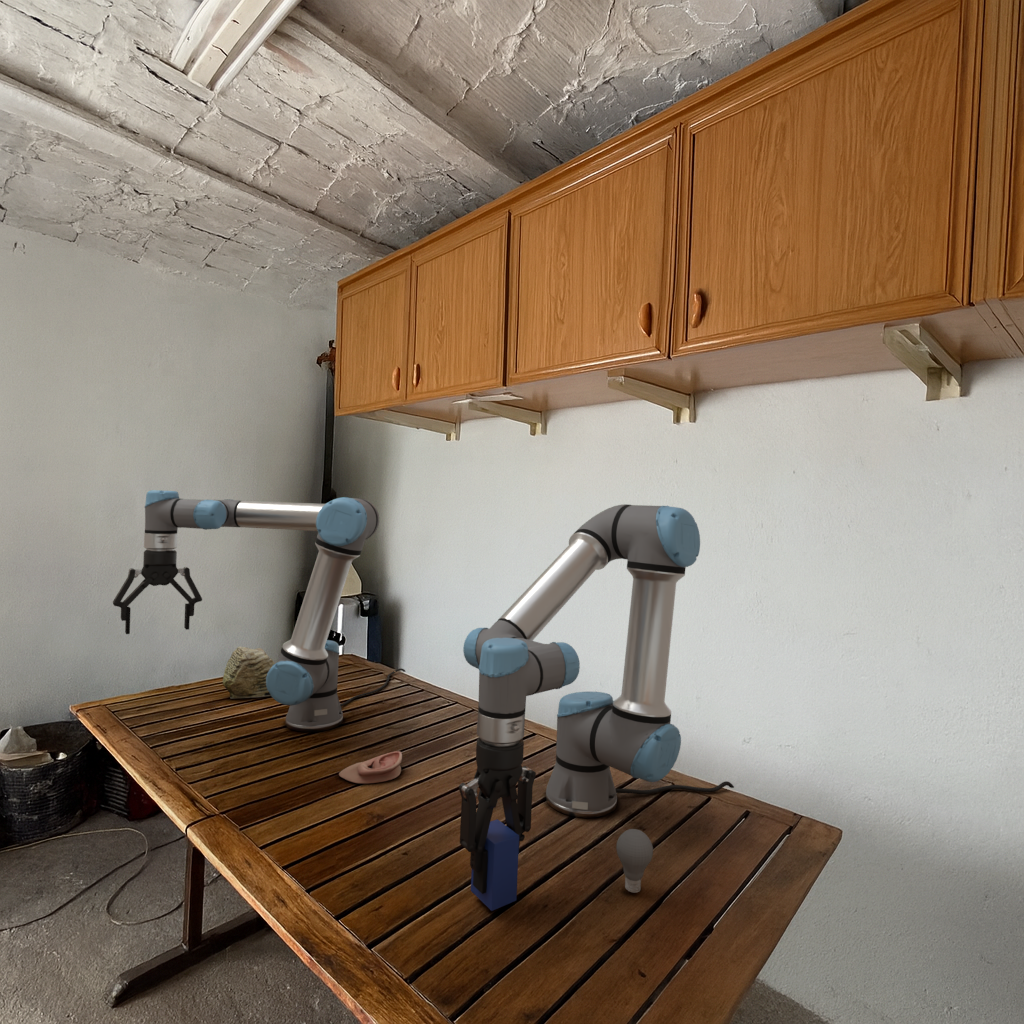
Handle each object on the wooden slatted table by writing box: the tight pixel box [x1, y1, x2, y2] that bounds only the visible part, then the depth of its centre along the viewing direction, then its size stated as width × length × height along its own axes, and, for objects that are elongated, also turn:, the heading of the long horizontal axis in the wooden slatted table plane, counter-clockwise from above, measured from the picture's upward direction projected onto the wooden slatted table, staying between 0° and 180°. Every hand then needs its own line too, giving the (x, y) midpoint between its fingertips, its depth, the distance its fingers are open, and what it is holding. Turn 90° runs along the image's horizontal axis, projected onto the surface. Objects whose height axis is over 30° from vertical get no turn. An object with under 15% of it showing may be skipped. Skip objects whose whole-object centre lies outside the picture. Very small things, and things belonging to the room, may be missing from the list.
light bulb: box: [615, 828, 654, 894], centre depth 106 cm, size 6×6×10 cm
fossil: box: [222, 646, 276, 699], centre depth 198 cm, size 9×18×15 cm, turn 132°
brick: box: [470, 818, 520, 912], centre depth 101 cm, size 5×6×10 cm
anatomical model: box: [338, 750, 403, 784], centre depth 146 cm, size 13×4×12 cm
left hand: (157, 630), depth 165 cm, fingers open, 13 cm apart
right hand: (494, 882), depth 101 cm, fingers closed on brick, 5 cm apart
